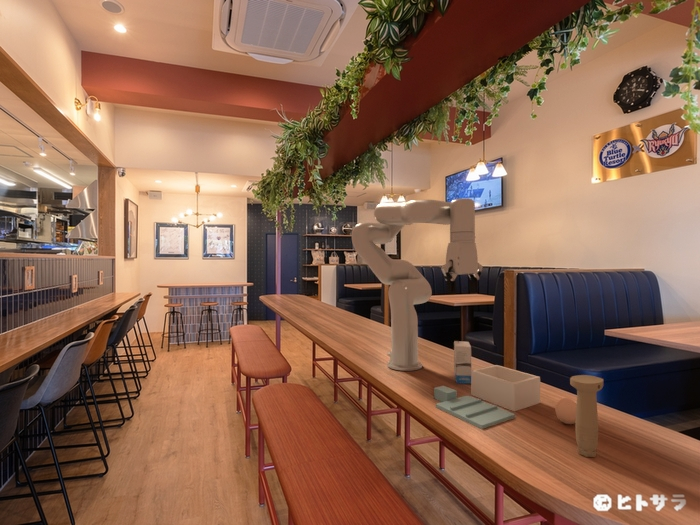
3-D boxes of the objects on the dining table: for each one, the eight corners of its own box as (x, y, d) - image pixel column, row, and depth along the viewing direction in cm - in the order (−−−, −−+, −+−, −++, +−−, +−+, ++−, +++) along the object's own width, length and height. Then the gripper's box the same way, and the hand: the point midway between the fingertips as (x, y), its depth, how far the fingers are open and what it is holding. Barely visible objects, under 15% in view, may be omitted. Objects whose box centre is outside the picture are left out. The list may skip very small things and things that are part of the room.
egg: (550, 421, 92) (550, 396, 92) (565, 417, 94) (565, 393, 94) (570, 429, 87) (569, 403, 87) (585, 425, 89) (585, 400, 89)
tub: (471, 394, 110) (471, 370, 109) (496, 388, 115) (496, 364, 115) (514, 411, 98) (514, 384, 97) (540, 402, 103) (540, 377, 103)
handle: (564, 452, 77) (564, 378, 77) (585, 445, 80) (585, 373, 80) (588, 463, 73) (588, 385, 72) (609, 456, 75) (609, 380, 75)
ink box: (472, 384, 119) (472, 346, 119) (455, 383, 120) (455, 346, 120) (469, 376, 127) (469, 340, 127) (453, 375, 128) (453, 340, 128)
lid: (422, 401, 105) (422, 390, 105) (454, 393, 111) (454, 383, 111) (481, 429, 88) (481, 416, 88) (515, 418, 94) (515, 406, 94)
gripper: (472, 239, 128) (472, 290, 128) (433, 238, 119) (433, 293, 119) (490, 238, 121) (490, 292, 122) (451, 237, 112) (451, 295, 113)
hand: (462, 292), depth 120 cm, fingers open, 9 cm apart
